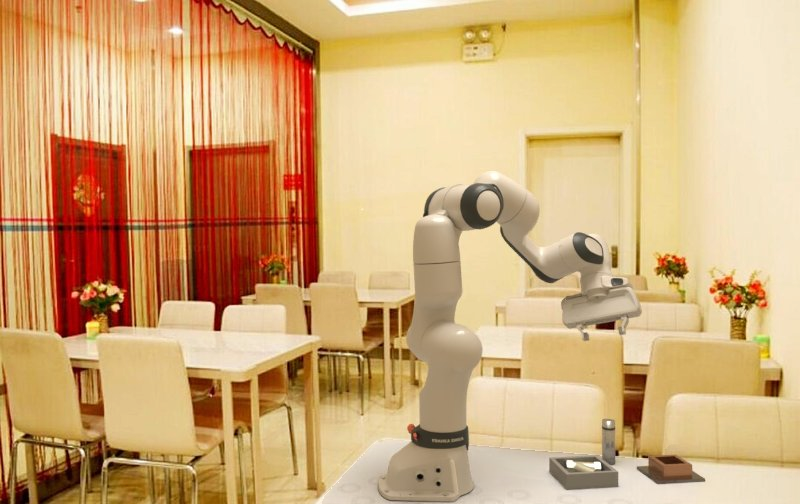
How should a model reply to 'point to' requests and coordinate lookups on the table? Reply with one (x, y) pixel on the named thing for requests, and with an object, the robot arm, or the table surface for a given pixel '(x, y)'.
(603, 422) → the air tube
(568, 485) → the parts corral
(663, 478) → the collar
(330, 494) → the table surface
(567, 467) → the pipe fitting
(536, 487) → the table surface
